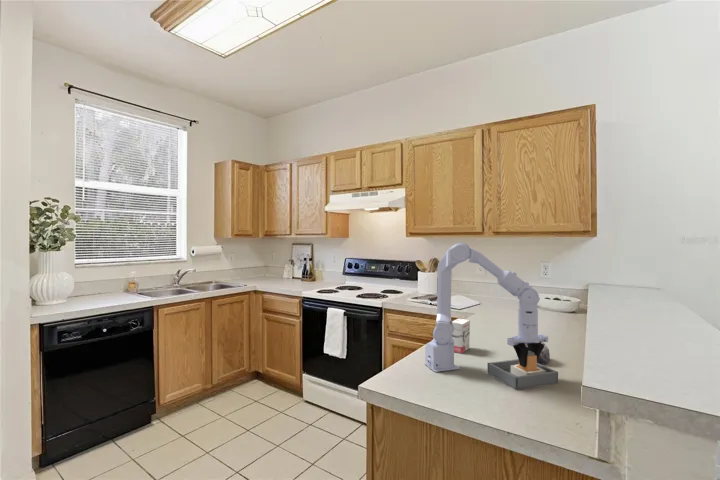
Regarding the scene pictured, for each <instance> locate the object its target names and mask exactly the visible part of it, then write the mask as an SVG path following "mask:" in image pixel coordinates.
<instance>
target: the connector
mask: <svg viewBox="0 0 720 480" xmlns="http://www.w3.org/2000/svg"><path fill="white" fill-rule="evenodd" d="M519 368H520V369H522V370H524V371H526V372H529V371H537V356H536V355H535V353H534V352H531V351H528V355H527V365H526V367H522V366H520V364H519Z"/></svg>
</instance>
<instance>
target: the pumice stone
mask: <svg viewBox="0 0 720 480" xmlns="http://www.w3.org/2000/svg"><path fill="white" fill-rule="evenodd" d="M541 344H544V348H543V350H542V351H541V353H540V355H539V358H538V361H537V363H539V364H541V365H548V364H549V363H550V361H551V358H550V357H551V356H550V349H549V348H548V346H547V345H546V343H545V342H541ZM525 345H526V347H528V346H527V344H525Z"/></svg>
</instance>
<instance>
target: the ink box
mask: <svg viewBox="0 0 720 480" xmlns="http://www.w3.org/2000/svg"><path fill="white" fill-rule="evenodd" d="M451 322H452V324H453V327H454V331H453V333H452V338H453V340H454V353H456V354H457V353H458V354H463V353H465V352H466V351H467V350H469V349H470V336H471V335H470V333H471V332H470V331H471V330H470V329H471V320H469V319H466V318H456V319H454V320H453V321H452V320H451Z"/></svg>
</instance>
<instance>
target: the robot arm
mask: <svg viewBox="0 0 720 480" xmlns="http://www.w3.org/2000/svg"><path fill="white" fill-rule="evenodd" d="M466 261H468V263H471V264H472V263H473V264H478V265H479V266H480V267H482V268H483V269H484V270H486V271H487V272H488V273H490V274H491V275H493V276H494V277H495V278H497V279H496V280H497V284H498V285H499V286H501V287H502V288H503V289H504V290H506V291H507V292H508V293H510V294H511V295H512V296H514V297H516V298H517V299H518V309H517V310H518V315H517V316H518V317H517V320H518V321H517V322H518V323H517V327H518V328H517V329H518V331H517V334H518V335H514V336H513V337H508V338H507V339H506V342H507V343H506V344H507V345H509V346H511V347H512V348H513V349H514V351H515V353H516V356H517V359H518V360H519V364H520V366H522V367H526V365H527V355H528V351H531V352H534V353H535V355H536V356H537V361H538V358H539V355H540V353H541V351H542V350H543V348H544V344H545V343H548V342H549V335H546V334H539V311H538V308H539V307H538V304H539V302H540V299H541V298H540V296H539V293H538V292H537V290H536V289H535V288H533V286H531V285H530V283H529V282H528V281H526V282H525V281H524V279H522V278H520V277H519V276H518V275H517V274H518V273H516V272H515V271H511V270H503V269H502V268H501V267H499V266H498V265H497V264H496V263H494V262H493V261H492V260H491V259H489V258H488V257H487V256H485V255H484V254H483V253H482V252H480V251H478V250H477V249H475V248H474V247H470V246H469V245H468V244H466V243H464V242H459V243H456V244H454V245H452V246H450V247H449V248H448V249H447V251H446V252H445V253H444V255H443V256H442V258H441V259H440V260H439V261H438V263H437V299H436V301H437V303H436V305H437V307H436V319H435V326H434V329H433V331H432V337H433V338H432V341H431V342H427V343H426V345H425V361H424V365H425V366H427V367H428V368H429V369H431V370H432V371H433V372H435V373H437V372H446V371H454V370H455V371H456V370H459V369H460V367H459V366H458V365H456V364H455V352H454V340H453V338H452V333H453V331H454V327H453V324H452V312H451V311H452V270H453V269H454V268H455V267H456V266H457V265H458V264H459V265H460V264H461V263H464V262H466ZM541 342H544V344H541ZM525 344H527V346H528V347H526V345H525Z"/></svg>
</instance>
